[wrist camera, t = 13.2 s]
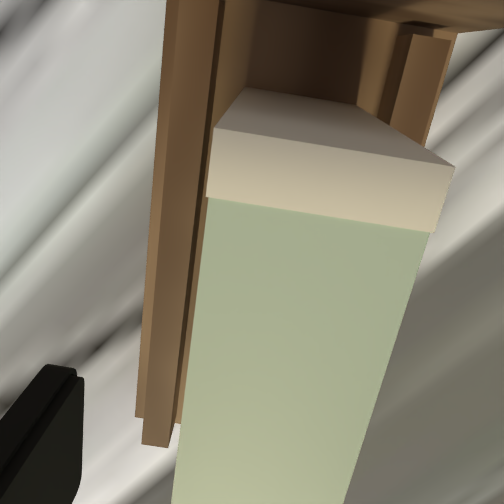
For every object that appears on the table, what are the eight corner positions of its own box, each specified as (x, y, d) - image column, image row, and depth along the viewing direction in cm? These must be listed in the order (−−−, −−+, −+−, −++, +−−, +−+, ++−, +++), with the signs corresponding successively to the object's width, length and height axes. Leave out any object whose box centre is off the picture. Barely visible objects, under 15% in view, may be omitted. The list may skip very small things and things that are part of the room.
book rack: (452, -1, 17) (642, -59, 8) (332, 424, 25) (365, 626, 16) (179, -49, 17) (80, -160, 8) (142, 396, 25) (71, 586, 16)
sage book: (356, 105, 17) (455, 166, 8) (294, 374, 22) (310, 610, 13) (244, 86, 17) (214, 127, 8) (206, 361, 22) (158, 589, 13)
